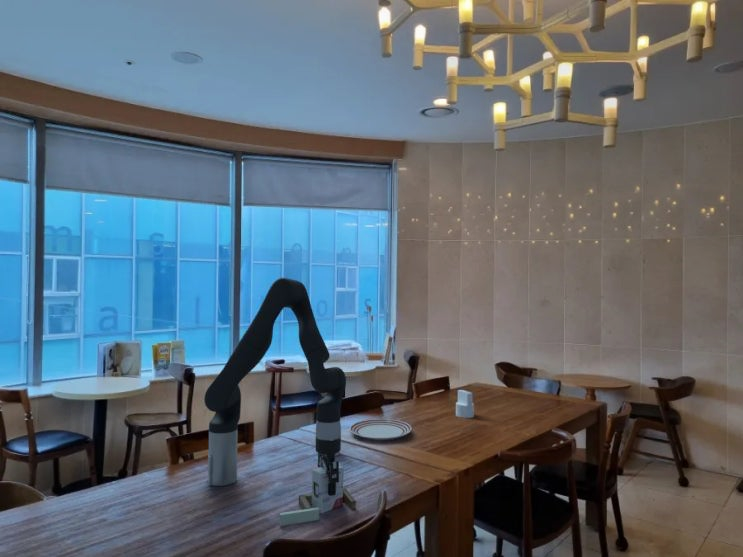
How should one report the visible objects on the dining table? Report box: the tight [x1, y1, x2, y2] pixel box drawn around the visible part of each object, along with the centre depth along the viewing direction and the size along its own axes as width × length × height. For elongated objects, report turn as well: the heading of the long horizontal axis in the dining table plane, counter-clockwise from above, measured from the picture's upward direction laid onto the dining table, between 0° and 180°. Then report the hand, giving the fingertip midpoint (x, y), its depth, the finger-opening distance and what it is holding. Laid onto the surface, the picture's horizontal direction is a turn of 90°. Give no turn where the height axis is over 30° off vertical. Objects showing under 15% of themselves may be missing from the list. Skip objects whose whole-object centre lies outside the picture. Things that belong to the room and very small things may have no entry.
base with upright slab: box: [455, 389, 475, 419], centre depth 260 cm, size 9×9×12 cm
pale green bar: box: [278, 507, 320, 527], centre depth 144 cm, size 11×1×3 cm, turn 111°
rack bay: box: [298, 488, 357, 511], centre depth 156 cm, size 15×12×8 cm
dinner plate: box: [349, 418, 412, 441], centre depth 228 cm, size 27×27×3 cm
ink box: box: [311, 465, 344, 514], centre depth 154 cm, size 9×5×12 cm, turn 133°
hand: (327, 489), depth 154 cm, fingers open, 8 cm apart
